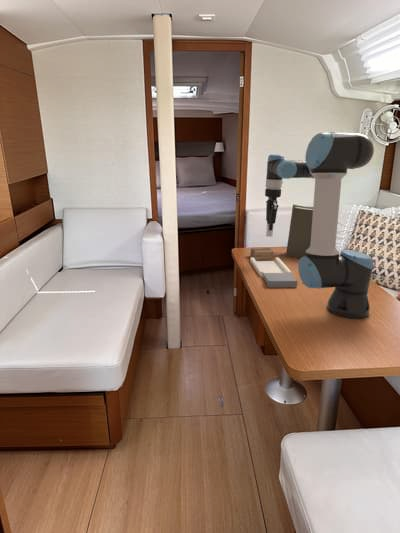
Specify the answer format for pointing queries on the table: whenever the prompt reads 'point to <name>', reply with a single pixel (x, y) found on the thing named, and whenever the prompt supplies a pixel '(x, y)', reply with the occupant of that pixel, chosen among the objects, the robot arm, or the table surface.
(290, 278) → the plinth
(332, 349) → the table surface
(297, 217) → the book
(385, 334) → the table surface
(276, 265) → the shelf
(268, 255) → the block
